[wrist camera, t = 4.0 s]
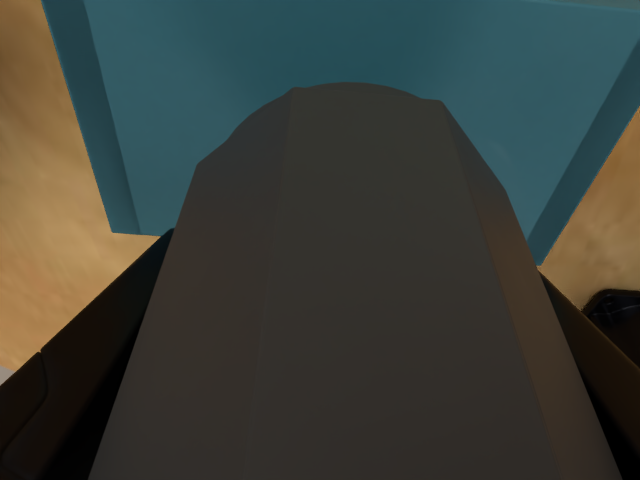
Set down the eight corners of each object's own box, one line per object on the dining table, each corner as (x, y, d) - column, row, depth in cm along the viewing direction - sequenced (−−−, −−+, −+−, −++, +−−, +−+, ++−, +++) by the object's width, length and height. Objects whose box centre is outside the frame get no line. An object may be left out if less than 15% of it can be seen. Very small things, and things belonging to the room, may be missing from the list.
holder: (532, 91, 9) (791, 515, 4) (442, 299, 13) (508, 623, 8) (193, 59, 8) (-5, 474, 4) (216, 282, 13) (142, 608, 8)
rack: (596, -54, 14) (696, 16, 10) (500, 167, 20) (541, 266, 16) (113, -106, 13) (22, -55, 9) (157, 137, 19) (111, 233, 15)
